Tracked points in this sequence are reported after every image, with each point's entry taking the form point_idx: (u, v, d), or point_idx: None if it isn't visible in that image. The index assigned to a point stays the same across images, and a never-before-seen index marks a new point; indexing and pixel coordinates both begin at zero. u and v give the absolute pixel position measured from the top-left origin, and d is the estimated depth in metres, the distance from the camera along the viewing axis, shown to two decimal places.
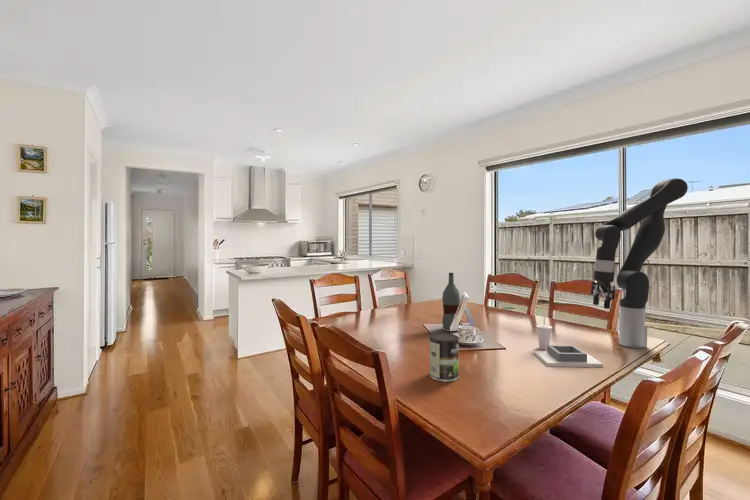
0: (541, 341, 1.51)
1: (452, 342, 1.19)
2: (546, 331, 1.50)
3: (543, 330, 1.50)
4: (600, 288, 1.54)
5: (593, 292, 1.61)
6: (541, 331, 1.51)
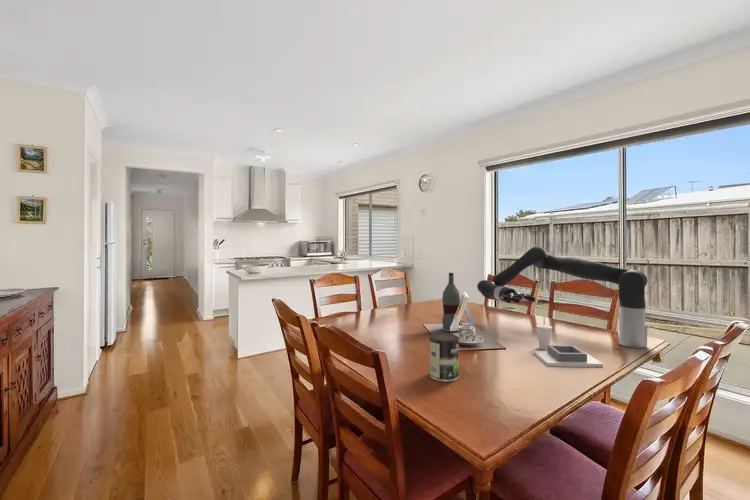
0: (541, 341, 1.51)
1: (452, 342, 1.19)
2: (546, 331, 1.50)
3: (543, 330, 1.50)
4: None
5: None
6: (541, 331, 1.51)
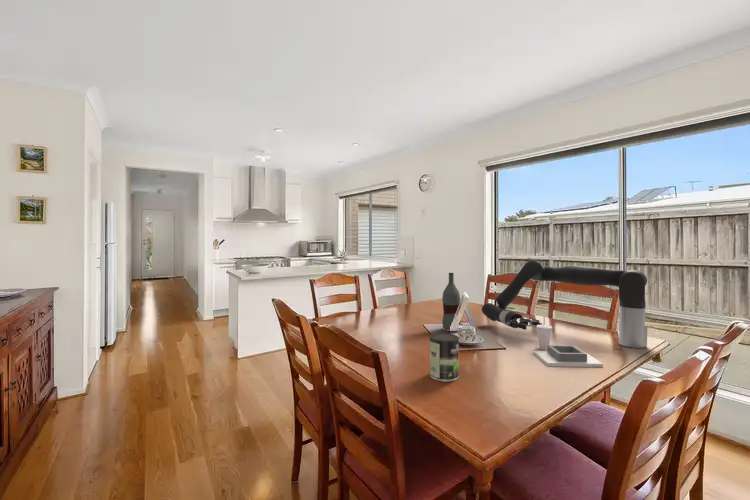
0: (541, 341, 1.51)
1: (452, 342, 1.19)
2: (546, 331, 1.50)
3: (543, 330, 1.50)
4: None
5: None
6: (541, 331, 1.51)
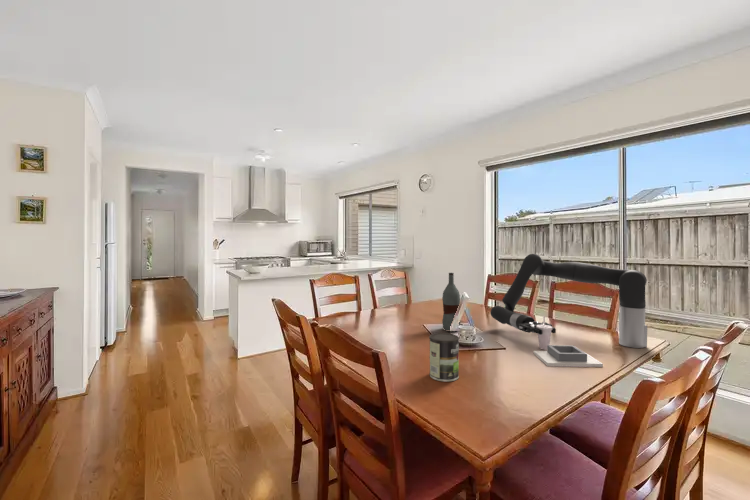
0: (541, 341, 1.51)
1: (452, 342, 1.19)
2: (546, 331, 1.50)
3: (543, 330, 1.50)
4: None
5: None
6: None
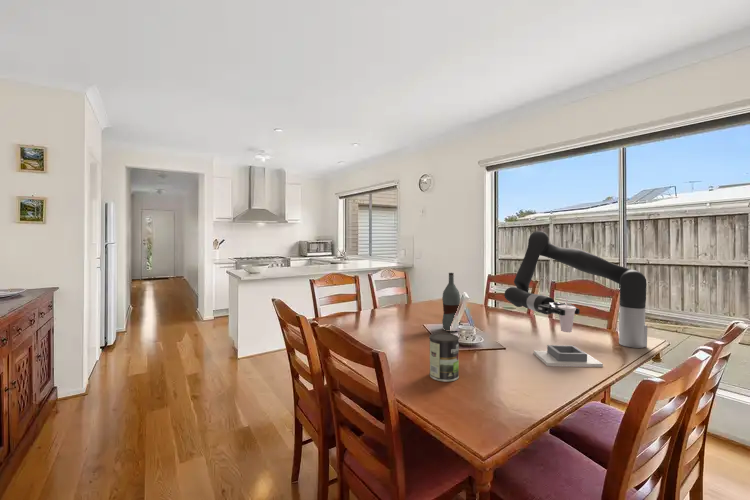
0: (563, 322, 1.37)
1: (452, 342, 1.19)
2: (569, 312, 1.35)
3: (566, 311, 1.35)
4: None
5: None
6: None
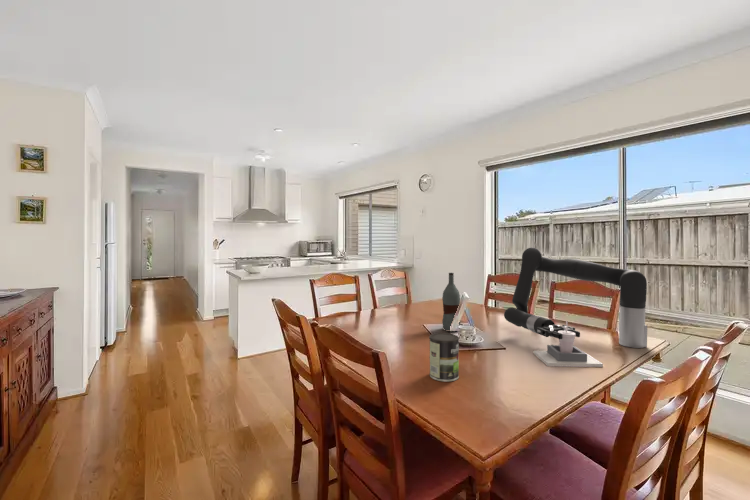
0: (563, 348, 1.37)
1: (452, 342, 1.19)
2: (569, 338, 1.35)
3: (566, 337, 1.36)
4: None
5: None
6: (563, 338, 1.36)
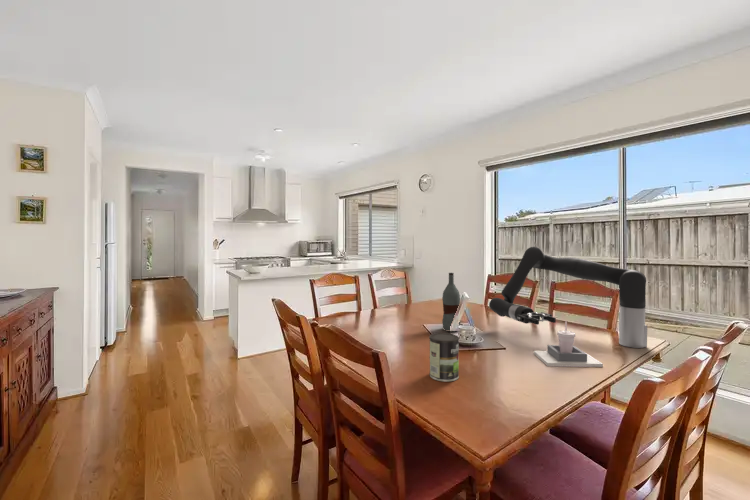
0: (563, 348, 1.37)
1: (452, 342, 1.19)
2: (569, 338, 1.35)
3: (565, 337, 1.36)
4: None
5: None
6: (563, 338, 1.37)
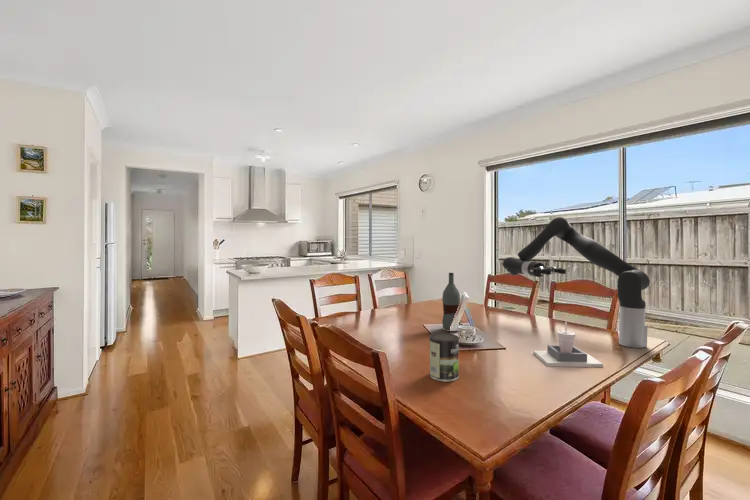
0: (563, 348, 1.37)
1: (452, 342, 1.19)
2: (569, 338, 1.35)
3: (565, 337, 1.36)
4: None
5: None
6: (563, 338, 1.37)
